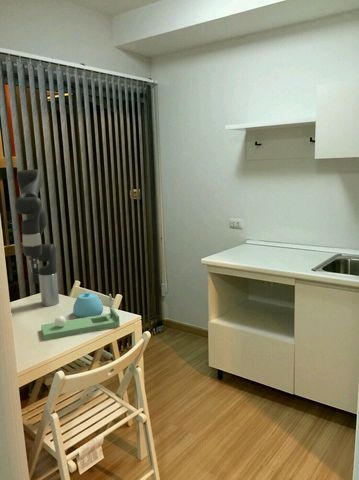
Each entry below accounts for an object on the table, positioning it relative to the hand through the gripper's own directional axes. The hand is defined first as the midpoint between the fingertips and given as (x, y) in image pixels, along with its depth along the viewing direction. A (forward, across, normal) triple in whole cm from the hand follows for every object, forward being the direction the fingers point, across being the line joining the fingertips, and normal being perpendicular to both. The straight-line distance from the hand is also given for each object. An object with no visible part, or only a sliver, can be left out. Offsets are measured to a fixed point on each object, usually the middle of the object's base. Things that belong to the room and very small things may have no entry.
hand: (35, 282), depth 179 cm
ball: (+20, 0, +9) cm, 22 cm away
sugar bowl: (+25, -17, +25) cm, 39 cm away
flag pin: (+23, +1, +33) cm, 40 cm away
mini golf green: (+25, 0, +18) cm, 31 cm away
